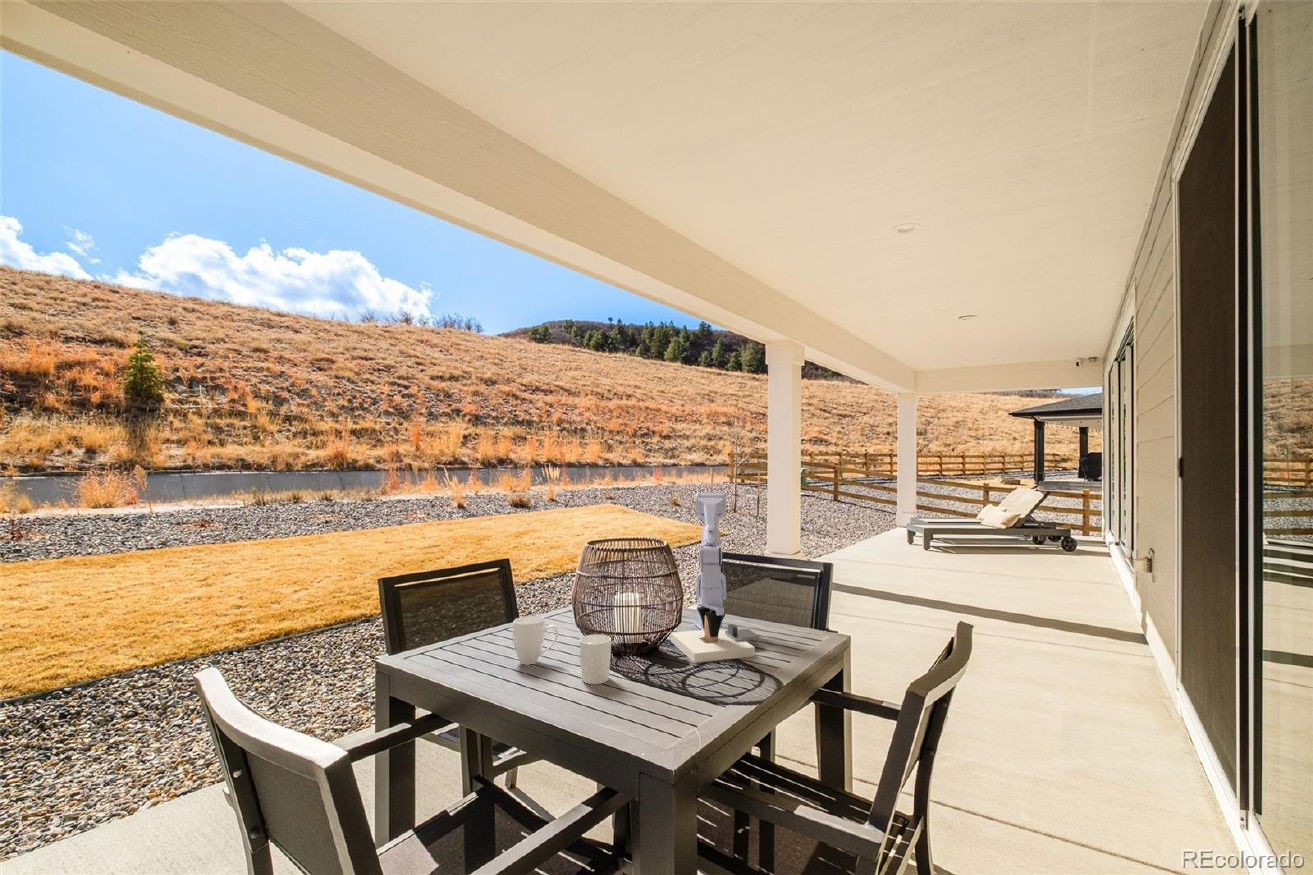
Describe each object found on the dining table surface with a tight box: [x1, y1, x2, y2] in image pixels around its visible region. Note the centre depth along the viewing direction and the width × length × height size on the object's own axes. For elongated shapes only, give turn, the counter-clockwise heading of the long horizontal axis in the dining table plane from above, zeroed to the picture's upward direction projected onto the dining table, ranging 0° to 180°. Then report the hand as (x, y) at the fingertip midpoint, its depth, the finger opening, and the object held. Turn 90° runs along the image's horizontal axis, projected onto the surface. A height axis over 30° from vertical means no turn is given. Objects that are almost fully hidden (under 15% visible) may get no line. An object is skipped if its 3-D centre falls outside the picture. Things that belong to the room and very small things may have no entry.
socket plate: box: [670, 627, 756, 664], centre depth 172 cm, size 20×18×2 cm
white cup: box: [579, 634, 612, 685], centre depth 148 cm, size 8×8×10 cm
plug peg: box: [704, 611, 718, 642], centre depth 172 cm, size 4×4×8 cm
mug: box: [512, 615, 559, 666], centre depth 160 cm, size 12×8×11 cm
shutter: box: [725, 624, 761, 641], centre depth 175 cm, size 8×8×3 cm
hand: (710, 634), depth 172 cm, fingers closed on plug peg, 4 cm apart
